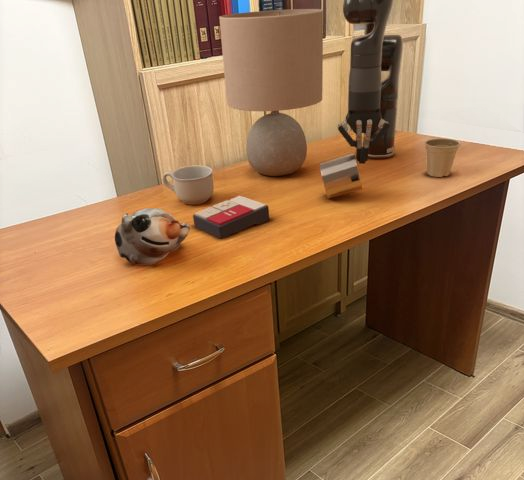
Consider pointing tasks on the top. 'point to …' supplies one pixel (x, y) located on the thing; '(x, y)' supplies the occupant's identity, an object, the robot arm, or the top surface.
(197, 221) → the flat box
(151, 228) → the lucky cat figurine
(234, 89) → the lamp
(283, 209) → the top surface
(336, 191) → the pot
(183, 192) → the teacup
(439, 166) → the flower pot
